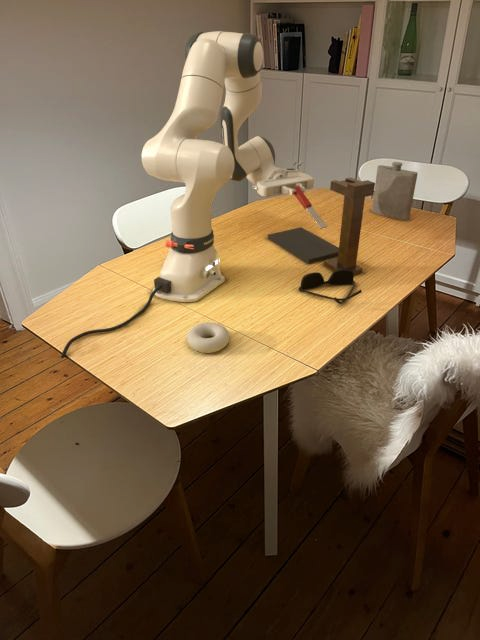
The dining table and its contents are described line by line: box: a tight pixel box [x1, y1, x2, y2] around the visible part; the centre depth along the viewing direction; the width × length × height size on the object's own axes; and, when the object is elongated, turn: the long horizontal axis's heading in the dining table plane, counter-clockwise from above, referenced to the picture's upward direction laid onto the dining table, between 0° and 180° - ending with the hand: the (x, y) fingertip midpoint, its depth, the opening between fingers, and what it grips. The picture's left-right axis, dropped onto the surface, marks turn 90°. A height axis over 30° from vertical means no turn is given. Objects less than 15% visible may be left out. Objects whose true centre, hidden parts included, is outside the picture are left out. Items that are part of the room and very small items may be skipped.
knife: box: [293, 186, 328, 230], centre depth 149 cm, size 18×3×2 cm, turn 29°
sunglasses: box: [298, 269, 363, 305], centre depth 127 cm, size 17×14×5 cm
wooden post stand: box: [322, 177, 376, 276], centre depth 135 cm, size 10×7×27 cm
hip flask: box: [371, 161, 419, 222], centre depth 176 cm, size 16×4×20 cm, turn 44°
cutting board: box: [267, 226, 339, 265], centre depth 157 cm, size 24×14×2 cm, turn 29°
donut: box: [186, 321, 230, 354], centre depth 109 cm, size 10×4×10 cm
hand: (298, 191), depth 152 cm, fingers closed on knife, 2 cm apart
